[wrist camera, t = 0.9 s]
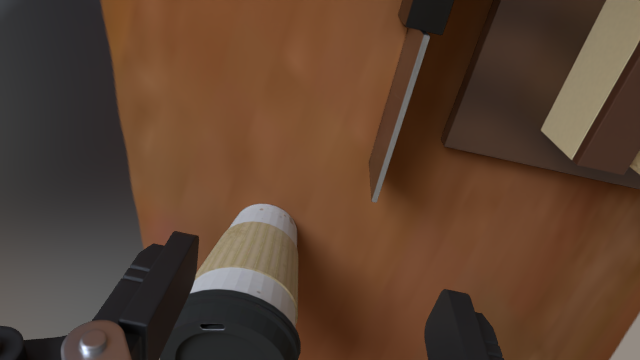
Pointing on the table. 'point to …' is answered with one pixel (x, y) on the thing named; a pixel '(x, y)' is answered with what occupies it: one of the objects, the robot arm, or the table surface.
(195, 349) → the coffee cup
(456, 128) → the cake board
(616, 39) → the cake slice
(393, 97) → the knife
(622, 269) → the table surface
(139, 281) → the robot arm
